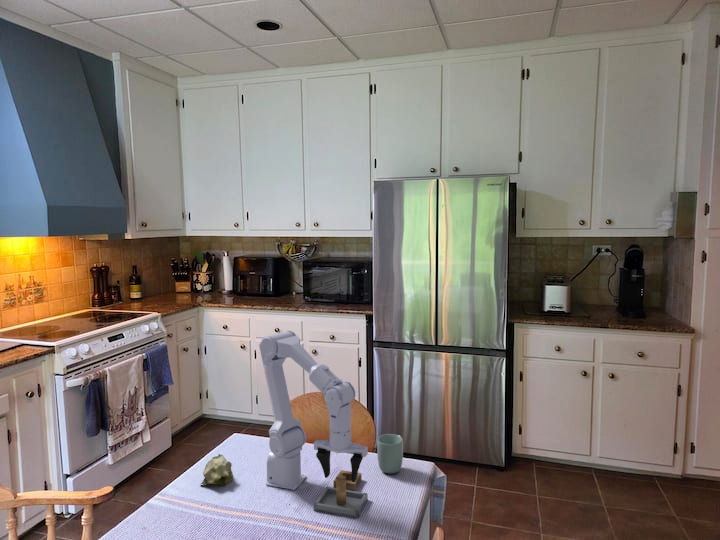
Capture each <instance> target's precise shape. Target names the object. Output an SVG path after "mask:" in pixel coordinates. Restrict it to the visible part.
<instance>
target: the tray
mask: <svg viewBox="0 0 720 540" xmlns="http://www.w3.org/2000/svg"><path fill="white" fill-rule="evenodd" d="M367 501H368V493H366V492H362V491H356V490H355V491H353V490H346V504H345V505H342V506H340V505H337V503H336V488H334V487H329V486H326V487H325V488H324V490H323V491H322V492H321V494H320V495H319V496H318V498H317V499H316V501H315V502H314V503H313V511H315V512H319V513H325V514H331V515H336V516H342V517H347V518H353V519H358V518H359V516H360V515H361V513H362V511H363V509H364V507H365V505H366V503H367Z"/></svg>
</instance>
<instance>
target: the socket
mask: <svg viewBox="0 0 720 540" xmlns="http://www.w3.org/2000/svg"><path fill="white" fill-rule="evenodd" d="M339 475H343V476H345V477H346V490H349V491H356V489H357V488H358V486H359V485H360V483H361V481H362V473H361V472H358V473H357V479H356V481H355V482H352V471H349V470H344V469H343V470H342V469H341V470H340V471H339V472H338V473H337V475H336V477H337V476H339ZM336 477H335V478H334V479H333V480H332V481H333V488H336Z"/></svg>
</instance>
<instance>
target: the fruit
mask: <svg viewBox="0 0 720 540" xmlns="http://www.w3.org/2000/svg"><path fill="white" fill-rule="evenodd" d="M232 464H233V463H232V462H231V461H228V460H227V459H226V457H225V456H224V455H223V454H221V453H218V456H216V455H215V456H213V457H212V459H210V460H208V461H207V463H206V464H205V467H204V470H203V471H202V474H203V477H204V478H203V480H202V482H201V484H203V486H206V485H210V484H212V485H215V486H227V485H228V484H230V483H231V482H232V480H233V479H234V478H235V477H234V475H233V471H232V466H233V465H232ZM229 482H230V483H229ZM201 484H200V485H201Z"/></svg>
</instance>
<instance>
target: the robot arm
mask: <svg viewBox="0 0 720 540" xmlns="http://www.w3.org/2000/svg"><path fill="white" fill-rule="evenodd" d="M258 346H259V350H260V355H261V362H262V365H263V366H262V367H263V370H264V375H265V379H266V385H267V390H268V394H269V399H270V403H271V405H270V406H271V409H272V413H273V419H274V422H273V424H272V426H271V427H270V428H269V430H268V435H269V441H268V443H269V444H268V445H269V449H270V451H269V453H268V455H267V460H266V483H265V485H266V486H271V487H276V488H282V489H288V490H294V491H295V490H297V488H298V487H299V486H300V485H301V484H302V483H303V482H304V480H305V479H306V478H307V475H306V474H302V465H301V464H302V463H301V462H302V461H301V458H302V456H301V451H302V450H303V446H304V445H305V444H306V441H307V435H306V432H305V430H304V428H303V425H302V421H301V420H299V419H298V418H295V417H294V415H293V409H292V406H291V404H292V403H291V400H290V395H289V392H288V386H287V381H286V376H285V373H284V368H283V367H284V366H283V364H284V362H285V360H286V359H287V358H290V359H291V360H292V361H294V362H295V363H297V364H298V366H300V367H301V368H302V369H303V370H304V371H305V372H307V373H308V379H309V381H310V382H311V383H312V385H314V386H315V387H316V388H317V390H319V391H320V392H321V393H322V395H323V398H324V402H325V404H326V407H327V412H328V416H329V419H328V421H329V440H327V439H326V440H325V439H324V440H323V439H321V440H320V439H319V440H318V439H316V440H315V441H314V442H313V450H314V451H317V452H316V454H315V456H316V459H318V461H319V463H320V465H321V467H322V472H323V475H324V478H326V479H327V478H328V477H329V476H330V474H331V453H336V454H337V453H338V454H350V455H351V457H350V459H349V461H350V466H351V472H352V482H355V481H356V479H357V473H359V469H360V465H361V463H362V461H363V458H366V457H367V455H368V454H369V453H368V451H369V450H368V446H365V445H360V444H358V443H354V442H352V402H354V400H355V399H356V390H355V388H354V386H353V385H352V383H351V382H350V381H347V380H343V379H340V378H339V377H338V376H336V375H335V373H333V372H332V371H331V369H330V367H328V365H325V364H318V363H317V362H316V360H315V359H314V358H313V357H312V356H311V355H310V353H309V352H308V351H307V350H306V349H305V348H304V347H303V345H302V344H301V338H300V337H299V336H298V335H297V334H296V332H294V331H293V330H286V331H282V332H278V333H275V334H270V335H269V334H268V335H265V336H263V337H262V339H261V341H260V343H259V344H258Z"/></svg>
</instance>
